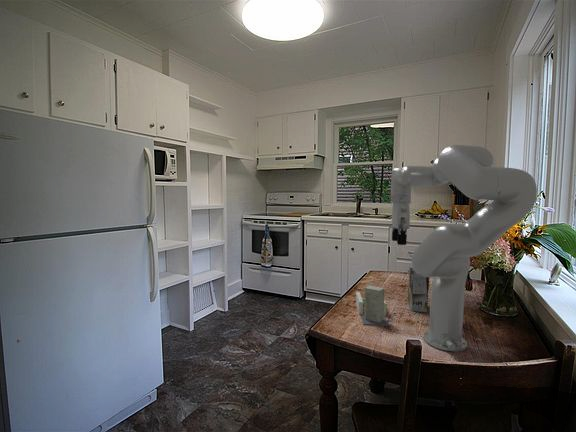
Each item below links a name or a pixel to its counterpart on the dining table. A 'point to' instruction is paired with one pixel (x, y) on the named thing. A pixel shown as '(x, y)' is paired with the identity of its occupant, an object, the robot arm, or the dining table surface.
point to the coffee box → (418, 291)
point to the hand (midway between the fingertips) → (398, 242)
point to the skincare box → (374, 303)
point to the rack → (361, 301)
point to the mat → (368, 322)
